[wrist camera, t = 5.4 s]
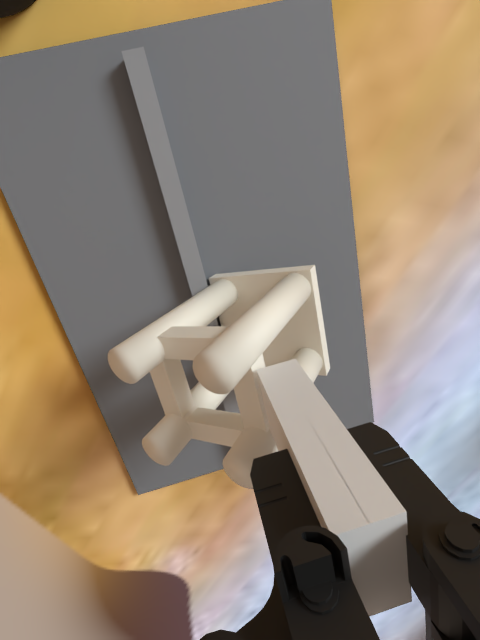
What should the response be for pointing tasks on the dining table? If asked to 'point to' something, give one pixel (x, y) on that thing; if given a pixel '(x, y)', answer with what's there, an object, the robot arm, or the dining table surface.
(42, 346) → the dining table surface
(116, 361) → the stool
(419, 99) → the dining table surface
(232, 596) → the dining table surface
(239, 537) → the dining table surface
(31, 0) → the travel mug
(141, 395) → the board
